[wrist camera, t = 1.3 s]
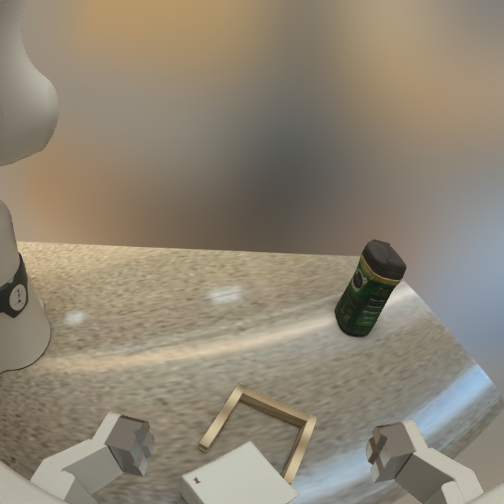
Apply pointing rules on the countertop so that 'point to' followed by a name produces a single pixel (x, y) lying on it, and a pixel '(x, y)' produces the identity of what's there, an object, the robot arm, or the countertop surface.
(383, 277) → the coffee jar
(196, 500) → the supplement box
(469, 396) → the countertop surface
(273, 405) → the corral
